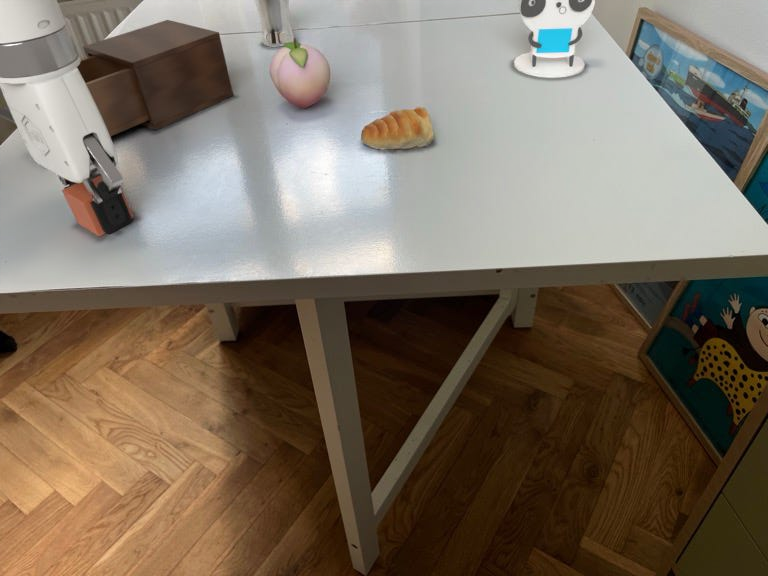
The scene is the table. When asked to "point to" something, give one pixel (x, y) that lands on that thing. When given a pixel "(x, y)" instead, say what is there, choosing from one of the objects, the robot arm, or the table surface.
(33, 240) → the table surface
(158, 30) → the cabinet
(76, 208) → the block
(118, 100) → the drawer
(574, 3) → the panda figurine
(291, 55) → the decorative fruit
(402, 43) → the table surface
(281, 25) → the beer glass
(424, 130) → the pastry
